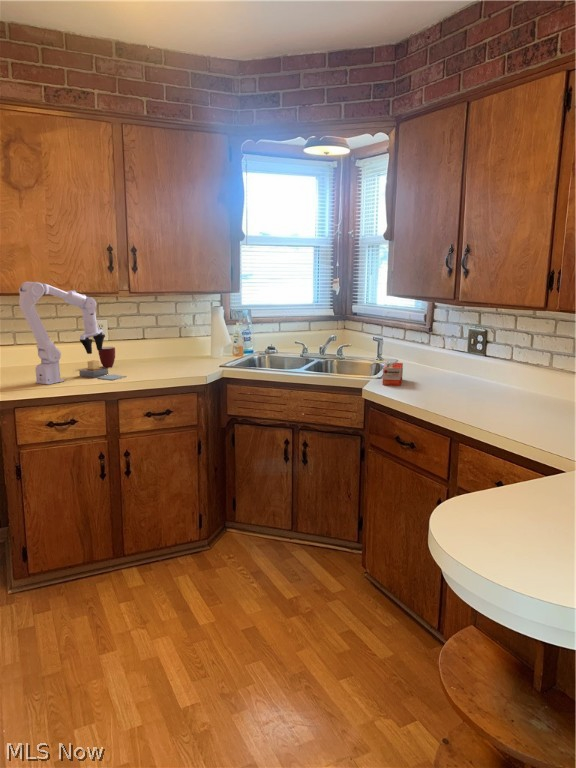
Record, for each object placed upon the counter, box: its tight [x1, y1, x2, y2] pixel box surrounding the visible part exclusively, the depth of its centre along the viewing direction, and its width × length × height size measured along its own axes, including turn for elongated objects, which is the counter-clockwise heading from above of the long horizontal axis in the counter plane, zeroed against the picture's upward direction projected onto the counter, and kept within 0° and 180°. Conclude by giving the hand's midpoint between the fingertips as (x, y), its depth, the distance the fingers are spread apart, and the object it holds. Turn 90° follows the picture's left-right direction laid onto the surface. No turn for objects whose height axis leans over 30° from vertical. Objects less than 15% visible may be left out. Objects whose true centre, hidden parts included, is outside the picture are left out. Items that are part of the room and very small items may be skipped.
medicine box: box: [382, 361, 404, 387], centre depth 243 cm, size 15×8×8 cm, turn 167°
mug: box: [97, 346, 116, 369], centre depth 279 cm, size 10×8×10 cm
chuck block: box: [78, 367, 109, 379], centre depth 257 cm, size 9×9×3 cm
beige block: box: [86, 359, 100, 371], centre depth 257 cm, size 4×4×7 cm
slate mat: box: [96, 373, 126, 381], centre depth 253 cm, size 9×9×1 cm
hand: (94, 351), depth 256 cm, fingers open, 7 cm apart
